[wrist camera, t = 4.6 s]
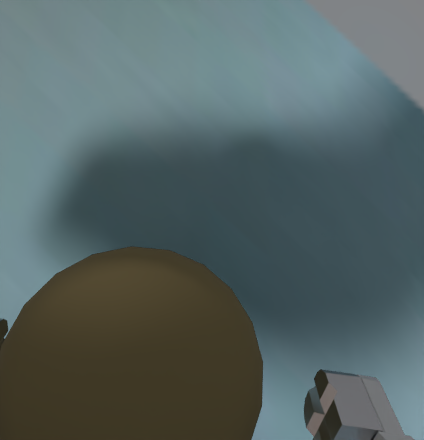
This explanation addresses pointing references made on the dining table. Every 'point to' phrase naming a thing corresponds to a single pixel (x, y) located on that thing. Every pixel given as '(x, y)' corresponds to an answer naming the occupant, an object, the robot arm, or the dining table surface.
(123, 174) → the dining table surface
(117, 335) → the cork
